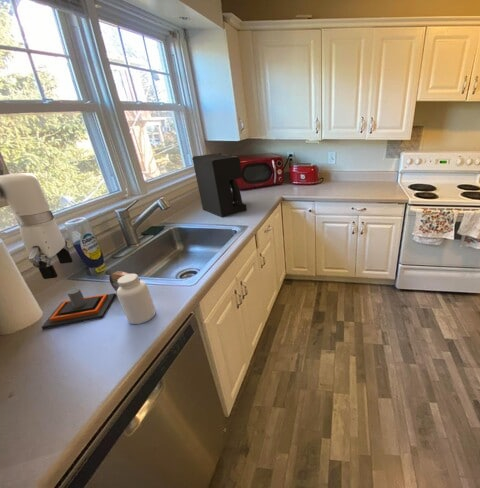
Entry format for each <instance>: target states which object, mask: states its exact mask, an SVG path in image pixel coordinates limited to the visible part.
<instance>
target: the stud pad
mask: <svg viewBox="0 0 480 488" xmlns="http://www.w3.org/2000/svg"><path fill="white" fill-rule="evenodd" d="M66 294H67V296H68V298H69V300H71V302H68V303H67V304H66V306H65V307H64V308H63V310H62V311H61V312H60V315H61V316H62V315H68V314H73V313H79V312H84V311H90V310H95V309H96V307H97V305H98V304H99V302H100V301H101V300H100V298H99V297H97V298H91V299H84V298H85V297H84V295H83V293H82V291H81V289H80V288H72V289H70V290H68V291H67V293H66Z"/></svg>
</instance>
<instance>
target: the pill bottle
mask: <svg viewBox="0 0 480 488" xmlns="http://www.w3.org/2000/svg"><path fill="white" fill-rule="evenodd" d="M139 279H140V277H139V275H138V274H136V273H129V274H127V275H124V276H122V277H120V278H119V279H118V281H117V282H118V285H119V286H120V287H119V288H118V290H117V291H116V297H117V298H118V301H119V303H120V305H121V307H122V310H123V312H124V316H125V317H126V320H127V322H128V323H129V324H132V325H140V324H144V323H146V322H148V321H150V320H151V319H153V318H154V316H155V315H156V312H157V311H156V308H155V304H154V302H153V298H152V295H151V293H150V290H149V288H148V285H147V283H146V282H145V281H144V280H141V279H140V280H139Z"/></svg>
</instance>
